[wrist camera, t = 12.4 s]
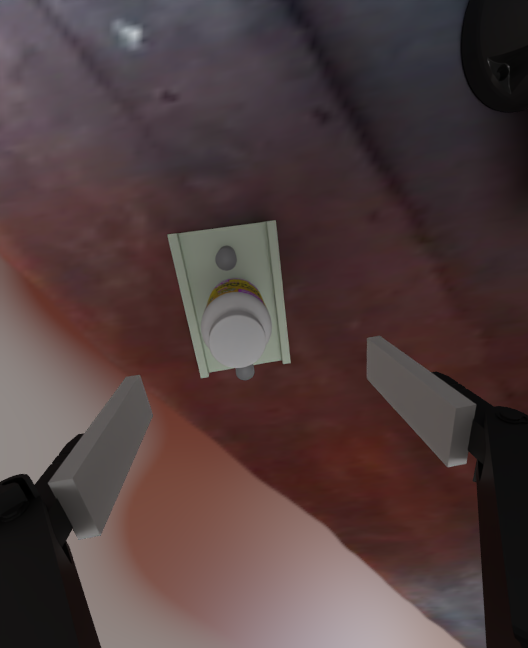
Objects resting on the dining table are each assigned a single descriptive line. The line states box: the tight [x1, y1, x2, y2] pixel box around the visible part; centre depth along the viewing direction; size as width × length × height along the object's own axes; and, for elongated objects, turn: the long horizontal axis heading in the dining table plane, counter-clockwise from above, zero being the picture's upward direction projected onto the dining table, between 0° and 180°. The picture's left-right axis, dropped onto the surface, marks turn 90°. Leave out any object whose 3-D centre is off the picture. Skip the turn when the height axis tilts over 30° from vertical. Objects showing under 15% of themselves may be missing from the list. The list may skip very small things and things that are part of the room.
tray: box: [167, 220, 290, 380], centre depth 31 cm, size 18×12×8 cm, turn 7°
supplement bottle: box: [201, 278, 272, 368], centre depth 27 cm, size 7×7×13 cm
